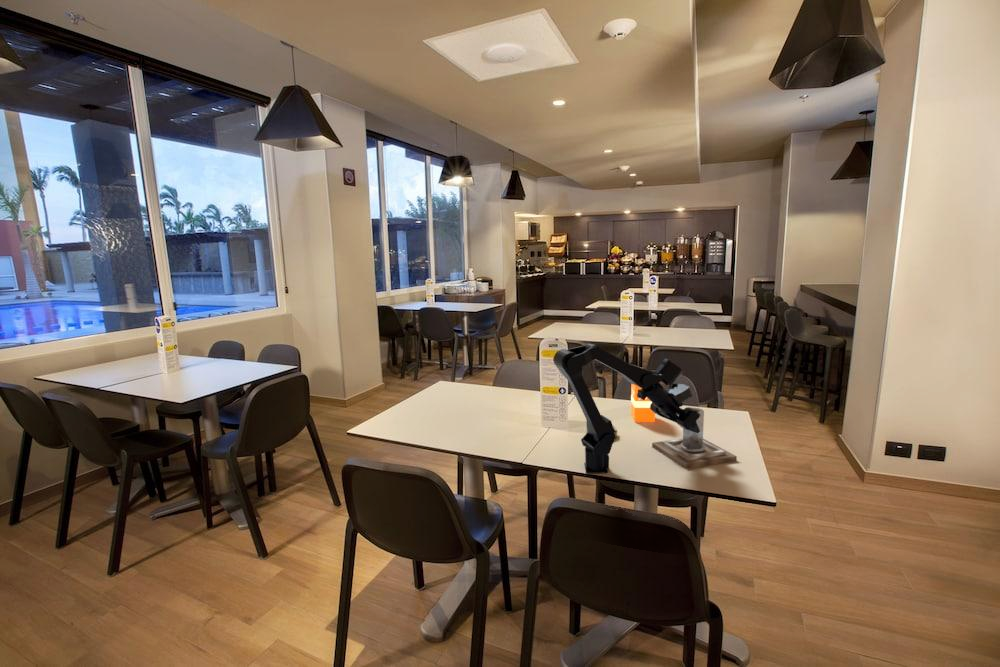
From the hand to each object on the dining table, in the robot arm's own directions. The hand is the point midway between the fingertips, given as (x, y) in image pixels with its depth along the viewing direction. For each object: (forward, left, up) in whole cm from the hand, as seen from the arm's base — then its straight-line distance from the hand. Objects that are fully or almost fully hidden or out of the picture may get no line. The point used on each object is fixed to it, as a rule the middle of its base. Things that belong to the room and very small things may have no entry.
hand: (689, 427), depth 152 cm
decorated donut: (-26, +17, -10) cm, 32 cm away
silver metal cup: (+1, +1, -8) cm, 8 cm away
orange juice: (-8, +35, -9) cm, 37 cm away
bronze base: (+1, +1, -9) cm, 9 cm away
